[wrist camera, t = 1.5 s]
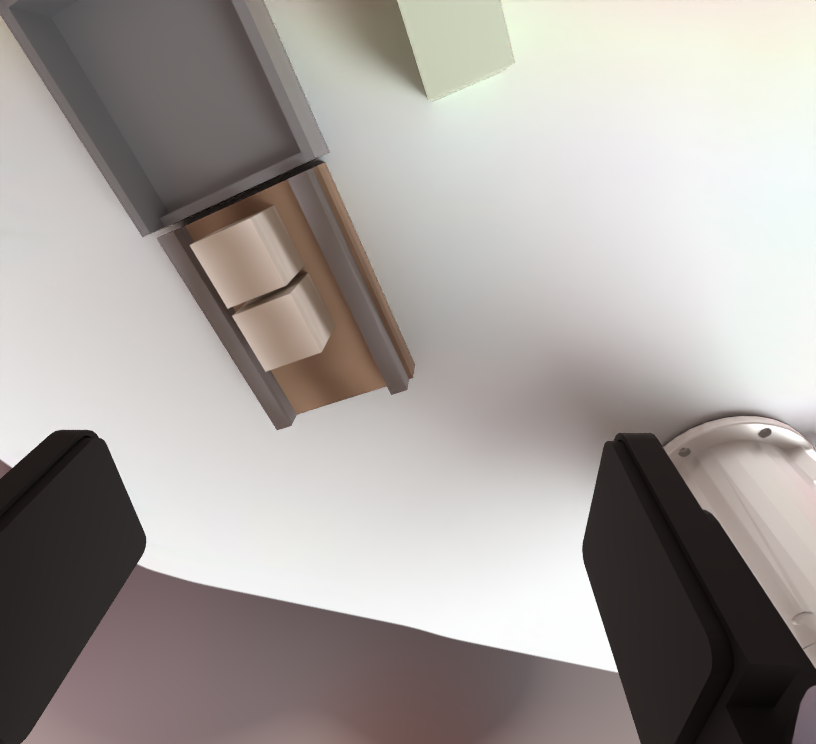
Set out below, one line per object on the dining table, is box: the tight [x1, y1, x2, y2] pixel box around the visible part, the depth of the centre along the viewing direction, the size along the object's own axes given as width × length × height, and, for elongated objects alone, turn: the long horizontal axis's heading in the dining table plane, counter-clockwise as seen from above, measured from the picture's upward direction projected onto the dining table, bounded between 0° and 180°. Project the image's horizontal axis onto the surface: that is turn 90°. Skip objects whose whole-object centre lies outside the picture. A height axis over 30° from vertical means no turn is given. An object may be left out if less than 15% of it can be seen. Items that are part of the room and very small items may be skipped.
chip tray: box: [0, 0, 329, 237], centre depth 27 cm, size 12×13×4 cm
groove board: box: [157, 163, 415, 430], centre depth 33 cm, size 11×15×4 cm
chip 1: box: [190, 205, 305, 308], centre depth 29 cm, size 4×4×4 cm
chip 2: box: [232, 273, 335, 372], centre depth 31 cm, size 4×4×4 cm
